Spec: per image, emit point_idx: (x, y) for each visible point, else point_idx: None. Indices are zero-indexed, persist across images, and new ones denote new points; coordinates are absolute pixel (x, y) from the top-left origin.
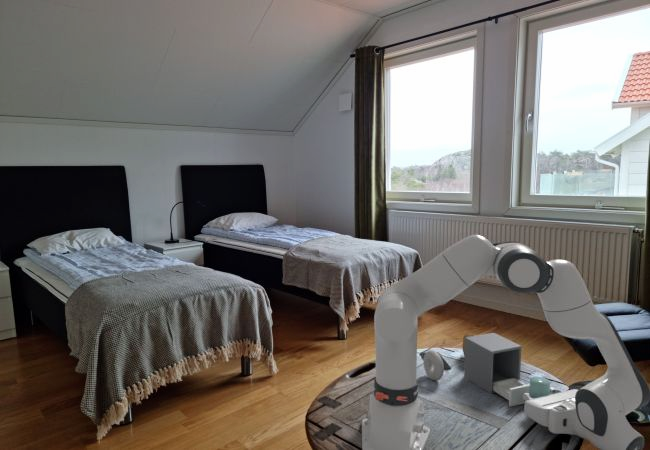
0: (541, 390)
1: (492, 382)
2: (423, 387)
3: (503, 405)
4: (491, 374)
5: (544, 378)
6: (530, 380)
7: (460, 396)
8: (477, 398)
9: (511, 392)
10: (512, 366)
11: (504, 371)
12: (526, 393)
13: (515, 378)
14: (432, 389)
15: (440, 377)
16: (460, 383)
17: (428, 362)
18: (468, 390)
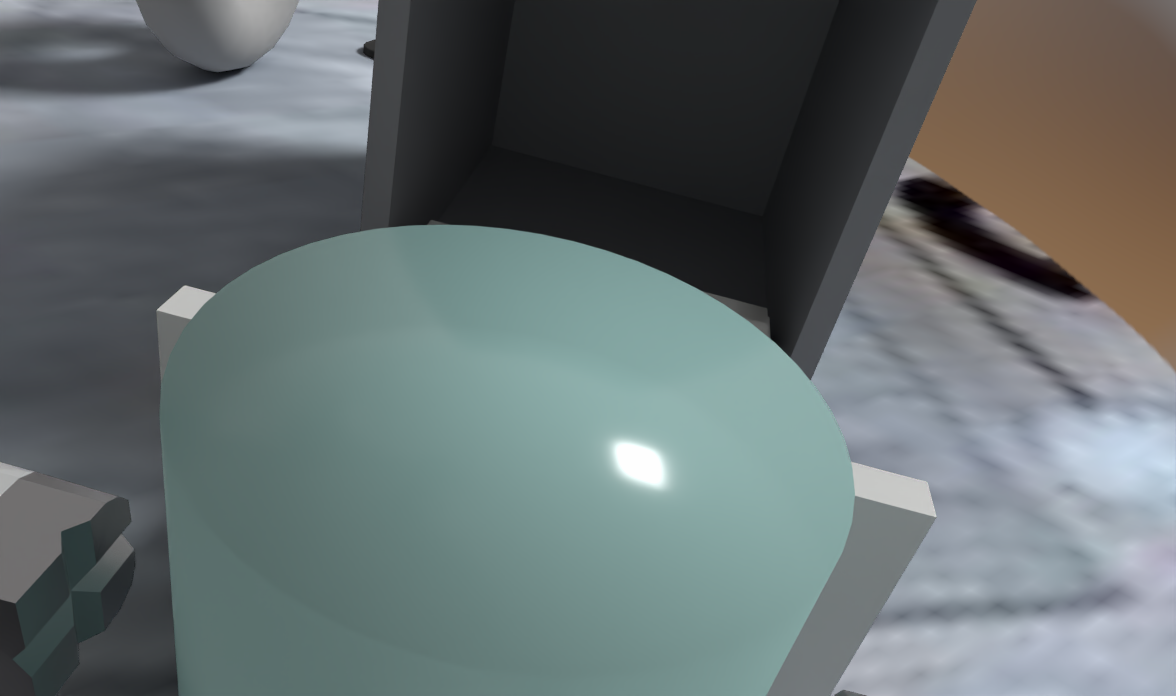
0: (201, 691)
1: (431, 221)
2: (19, 52)
3: (158, 489)
4: (382, 93)
5: (798, 417)
6: (304, 251)
7: (48, 199)
8: (125, 284)
9: (163, 360)
10: (832, 186)
11: (785, 240)
12: (15, 499)
13: (765, 320)
14: (29, 81)
15: (168, 28)
16: (327, 160)
17: None
18: (246, 210)
